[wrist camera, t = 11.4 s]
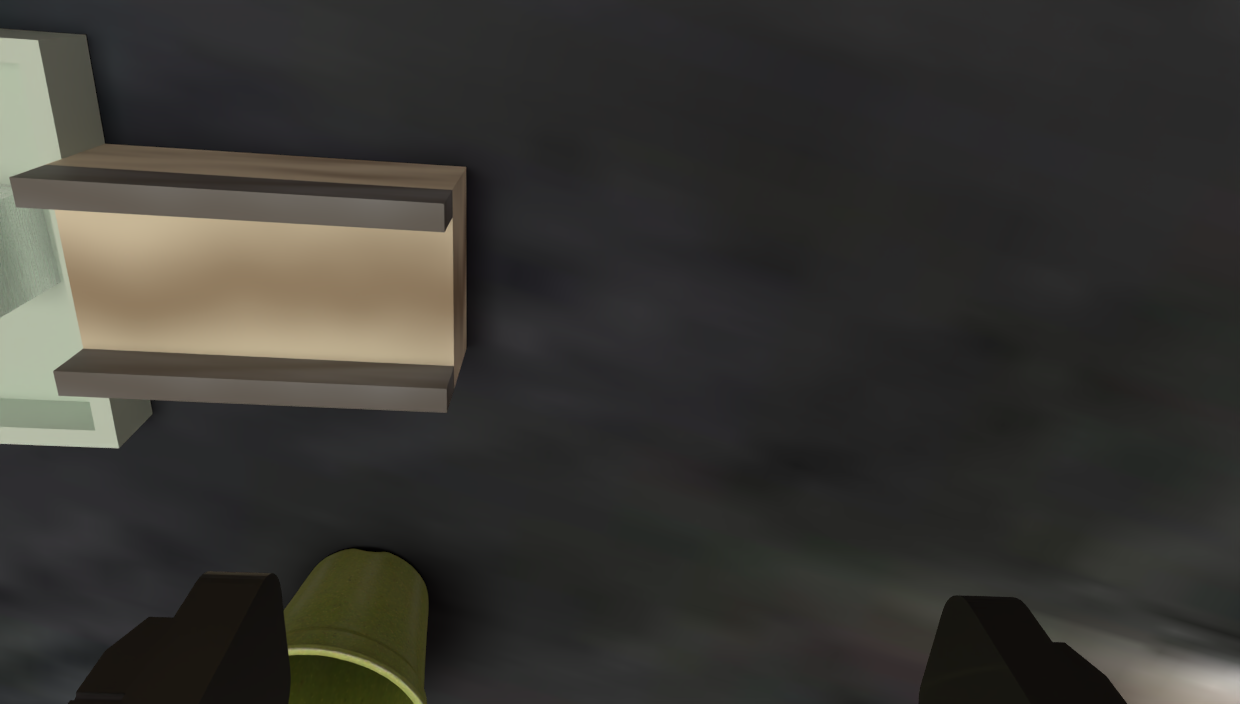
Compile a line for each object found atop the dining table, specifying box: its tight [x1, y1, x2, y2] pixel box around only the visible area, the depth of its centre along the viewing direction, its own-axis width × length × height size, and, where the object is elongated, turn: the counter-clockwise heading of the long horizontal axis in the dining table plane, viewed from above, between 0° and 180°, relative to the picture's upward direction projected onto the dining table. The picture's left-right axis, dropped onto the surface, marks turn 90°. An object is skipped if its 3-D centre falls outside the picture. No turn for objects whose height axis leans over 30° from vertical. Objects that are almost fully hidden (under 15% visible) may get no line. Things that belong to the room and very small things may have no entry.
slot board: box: [9, 144, 467, 413], centre depth 32 cm, size 8×14×6 cm, turn 86°
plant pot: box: [284, 549, 429, 704], centre depth 38 cm, size 9×9×9 cm
